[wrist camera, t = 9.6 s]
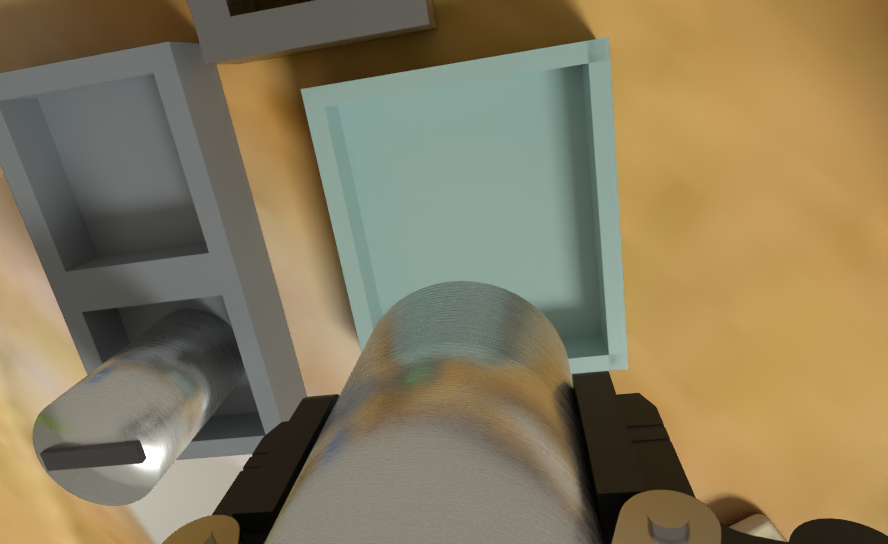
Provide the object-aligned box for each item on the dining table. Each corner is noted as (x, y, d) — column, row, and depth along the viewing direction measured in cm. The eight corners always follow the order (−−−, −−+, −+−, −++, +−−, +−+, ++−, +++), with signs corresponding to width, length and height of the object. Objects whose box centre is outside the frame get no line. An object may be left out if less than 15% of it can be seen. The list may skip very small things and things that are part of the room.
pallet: (29, 77, 26) (-35, 79, 23) (210, 43, 25) (168, 41, 22) (160, 424, 33) (124, 463, 29) (311, 411, 31) (290, 450, 28)
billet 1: (230, 303, 28) (127, 395, 20) (257, 391, 30) (172, 507, 22) (137, 314, 29) (5, 407, 21) (169, 399, 30) (57, 515, 23)
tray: (596, 39, 24) (609, 37, 21) (616, 340, 28) (628, 368, 26) (321, 86, 25) (300, 89, 23) (381, 363, 30) (370, 392, 27)
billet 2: (559, 268, 13) (641, 590, 5) (578, 456, 14) (663, 923, 6) (344, 293, 13) (118, 607, 6) (385, 468, 15) (253, 900, 7)
